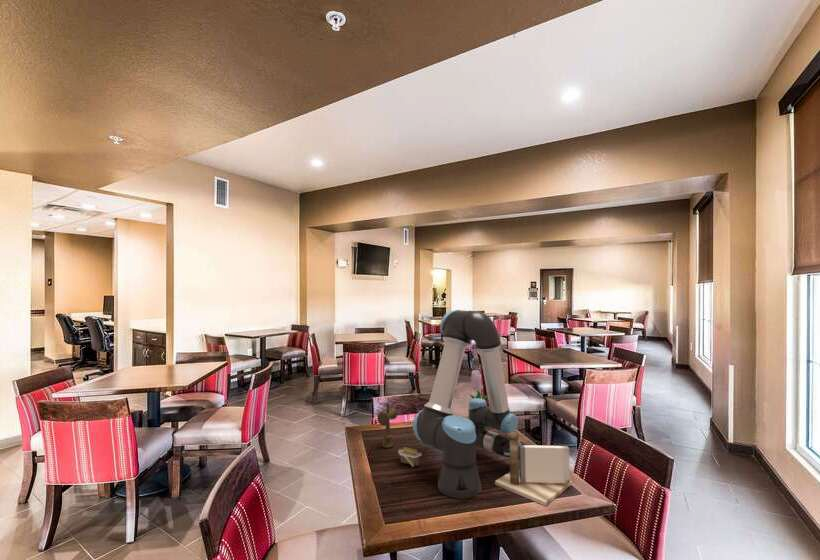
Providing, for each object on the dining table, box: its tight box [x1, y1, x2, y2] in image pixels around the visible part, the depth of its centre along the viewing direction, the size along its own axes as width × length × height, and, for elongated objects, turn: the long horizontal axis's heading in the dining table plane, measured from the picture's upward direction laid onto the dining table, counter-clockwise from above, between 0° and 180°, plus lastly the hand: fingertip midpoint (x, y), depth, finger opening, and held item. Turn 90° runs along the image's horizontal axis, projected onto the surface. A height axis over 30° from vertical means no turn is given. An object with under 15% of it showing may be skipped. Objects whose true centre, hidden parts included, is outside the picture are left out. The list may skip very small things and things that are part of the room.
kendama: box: [376, 401, 398, 449], centre depth 166 cm, size 6×10×20 cm, turn 156°
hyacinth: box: [469, 369, 488, 401], centre depth 190 cm, size 9×10×30 cm
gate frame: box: [494, 430, 573, 507], centre depth 132 cm, size 20×19×19 cm
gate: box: [519, 444, 571, 483], centre depth 130 cm, size 17×2×12 cm, turn 87°
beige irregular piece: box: [397, 446, 423, 468], centre depth 147 cm, size 12×18×7 cm, turn 65°
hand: (553, 462), depth 132 cm, fingers closed
